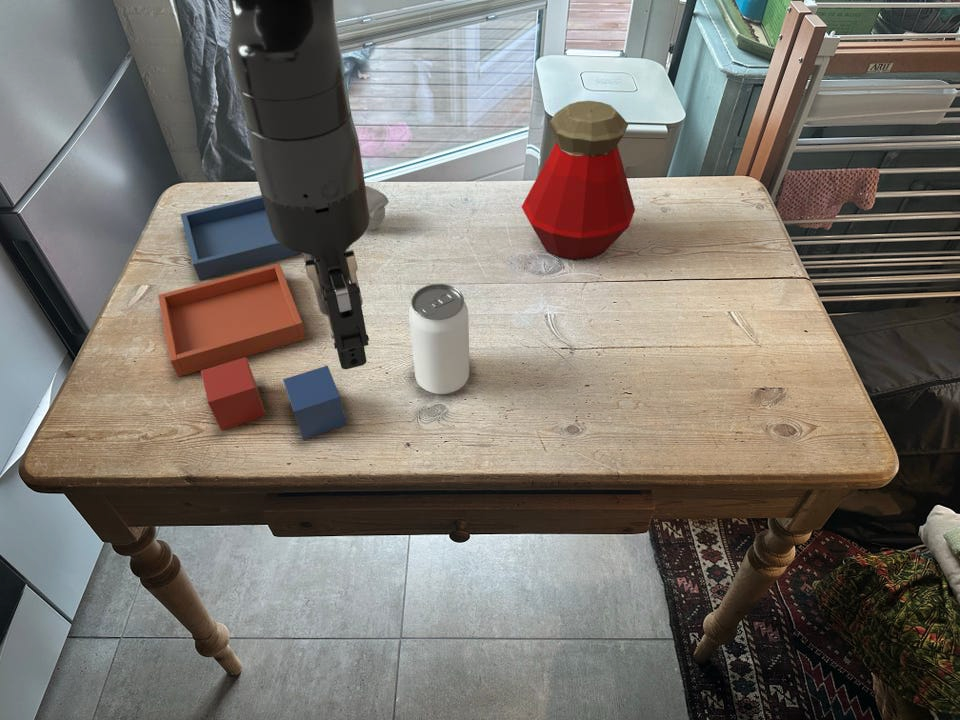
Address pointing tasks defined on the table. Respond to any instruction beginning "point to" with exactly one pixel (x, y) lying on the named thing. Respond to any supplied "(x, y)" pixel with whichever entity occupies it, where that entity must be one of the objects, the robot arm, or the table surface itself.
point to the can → (439, 338)
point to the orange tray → (229, 319)
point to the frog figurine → (375, 207)
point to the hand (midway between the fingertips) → (343, 331)
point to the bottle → (582, 184)
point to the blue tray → (231, 237)
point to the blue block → (315, 402)
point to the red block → (232, 393)
